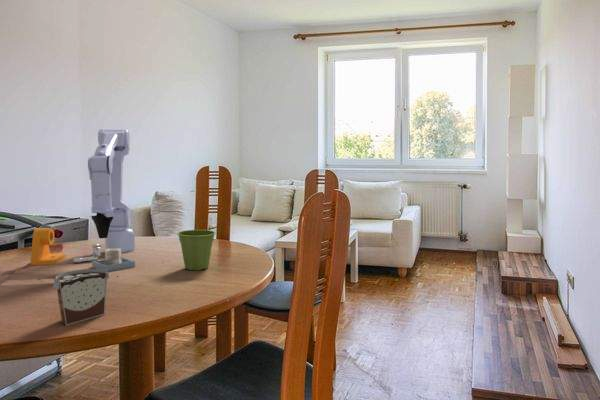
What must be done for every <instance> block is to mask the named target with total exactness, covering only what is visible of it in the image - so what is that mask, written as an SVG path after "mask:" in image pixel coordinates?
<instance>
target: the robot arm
mask: <svg viewBox="0 0 600 400" xmlns="http://www.w3.org/2000/svg"><path fill="white" fill-rule="evenodd" d="M97 142H98V146H97V147H96V149H95V151H94V154H93V155H91V157H88V160H87V169H88V175H89V180H90V188H91V208H90V209H91V213H92V214H95V215H91V216H90V218H91V219H92V221H93V223H94V225H95V228H96V232H97V234H98V238H99V239H104V244H105V245H104V248H105V250H104V252H105V251H106V250H107V249H110V248H121V254H122V253H127V252H134V251H135V250H136V246H135V245H136V242H135V232H134V231H133V229H132V228H130V227H131V223H132V221H131V220H132V217H131V208H130V206H129V205H127V203H125V202H123V178H124V177H123V173H124V171H123V169H124V165H123V164H124V159H125V157H126V156H127V155H129V152H130V144H131V143H130V142H131V141H130V132H129V130H128V129H127V128H125V129H102V128H100V129H99V130H98V132H97Z"/></svg>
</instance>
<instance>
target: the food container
mask: <svg viewBox="0 0 600 400" xmlns="http://www.w3.org/2000/svg"><path fill="white" fill-rule="evenodd" d="M108 279H110V274H109V272H107V270H105V269H96V268H84V269H76V270H75V269H74V270H70V271H65V272H62V273H58V274H57V275H56V276H55V279H54V281H53V287H52V288H53V289H54V290H56V292H57V298H58V305H59V312H60V318H61V324H62V325H63V326H65V327H66V326H71V325H73V324H77V323H81V322H84V321H87V320H88V321H89V320H91V319H95V318H97V317H101V316H104V315H106V304H107V303H106V302H107V301H106V299H107V284H108V283H107V280H108Z"/></svg>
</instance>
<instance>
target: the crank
mask: <svg viewBox="0 0 600 400" xmlns="http://www.w3.org/2000/svg"><path fill="white" fill-rule="evenodd" d="M102 246H103V245H102V243H96V244H92V245H91V248H92V255H91V256H85V257H74V258H72V262H73V263H74V264H76V263H77V264H79V263H83V262H86V261H88V262H89V260H94V261H96V259H99V257H102V254H101V253H102V251H101V247H102Z"/></svg>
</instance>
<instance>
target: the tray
mask: <svg viewBox="0 0 600 400" xmlns="http://www.w3.org/2000/svg"><path fill="white" fill-rule="evenodd" d="M121 259H122V263H118V264H111V265H105V259H101V260H94V261H91V263H92V264H91V267H92V268H93V269H105V270H107V272H108V273H110V272H113V271H119V270H125V269H131V268H136V261H135V260H132V259H129V258H126V257H122V256H121Z"/></svg>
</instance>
